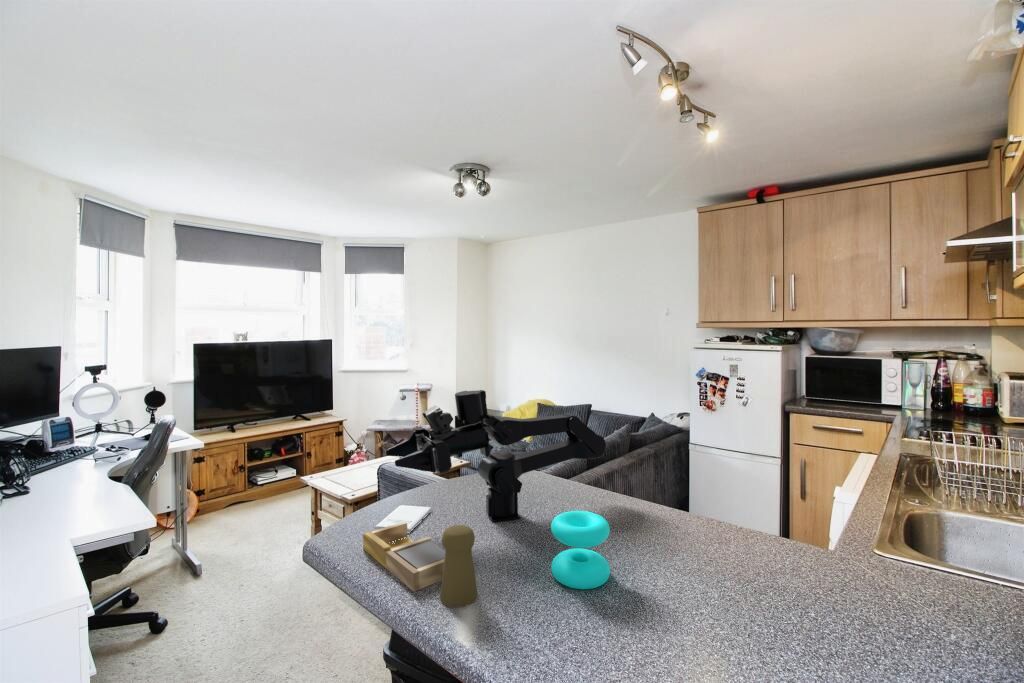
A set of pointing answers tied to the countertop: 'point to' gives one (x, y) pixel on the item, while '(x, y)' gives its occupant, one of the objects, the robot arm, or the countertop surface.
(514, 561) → the countertop surface
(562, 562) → the donuts
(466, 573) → the olive brown pawn
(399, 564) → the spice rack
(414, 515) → the external hard drive
